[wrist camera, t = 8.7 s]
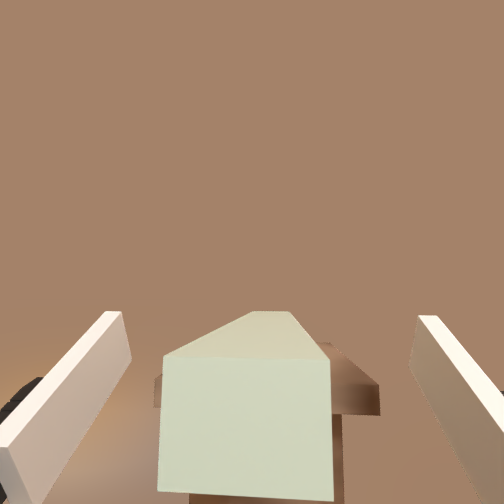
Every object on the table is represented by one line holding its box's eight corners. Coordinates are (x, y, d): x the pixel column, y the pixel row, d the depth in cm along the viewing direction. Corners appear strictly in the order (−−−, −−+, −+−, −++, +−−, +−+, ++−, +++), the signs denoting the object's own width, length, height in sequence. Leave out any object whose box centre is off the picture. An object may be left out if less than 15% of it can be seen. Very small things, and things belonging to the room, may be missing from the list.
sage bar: (156, 491, 7) (163, 356, 8) (252, 338, 35) (253, 311, 35) (334, 501, 7) (329, 360, 7) (289, 339, 35) (289, 311, 35)
